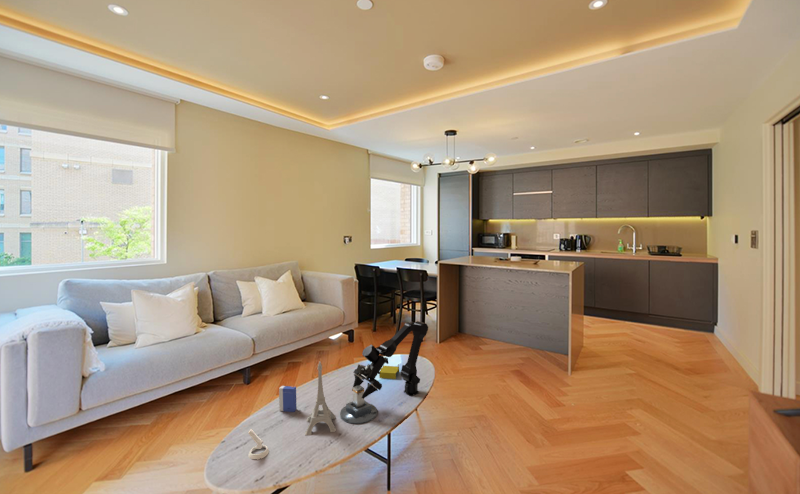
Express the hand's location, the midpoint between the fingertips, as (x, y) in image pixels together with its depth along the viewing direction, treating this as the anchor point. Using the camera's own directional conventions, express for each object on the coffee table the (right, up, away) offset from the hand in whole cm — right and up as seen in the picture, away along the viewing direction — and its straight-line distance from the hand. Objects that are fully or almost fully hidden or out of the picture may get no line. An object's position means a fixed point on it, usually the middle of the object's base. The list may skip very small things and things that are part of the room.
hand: (357, 394), depth 164 cm
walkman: (-35, -10, +5) cm, 37 cm away
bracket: (+13, -8, +46) cm, 48 cm away
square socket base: (+1, -10, +1) cm, 10 cm away
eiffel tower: (-16, -11, -9) cm, 21 cm away
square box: (+1, -9, +1) cm, 9 cm away
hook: (-36, -12, -28) cm, 48 cm away
